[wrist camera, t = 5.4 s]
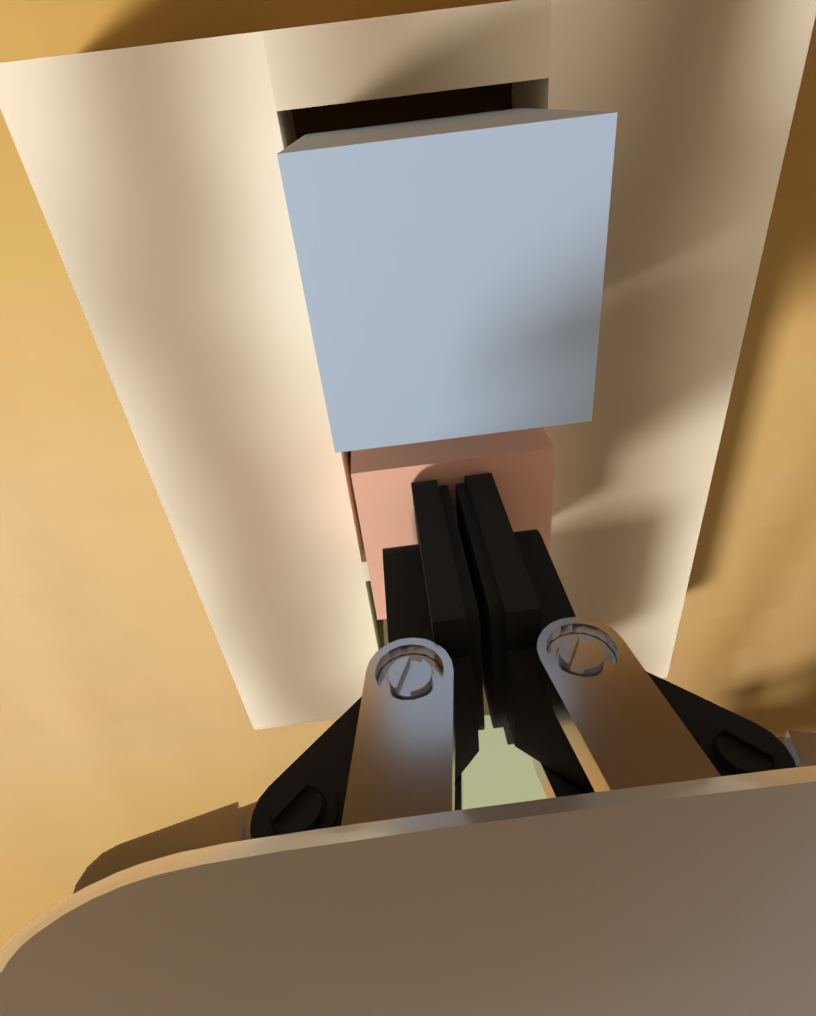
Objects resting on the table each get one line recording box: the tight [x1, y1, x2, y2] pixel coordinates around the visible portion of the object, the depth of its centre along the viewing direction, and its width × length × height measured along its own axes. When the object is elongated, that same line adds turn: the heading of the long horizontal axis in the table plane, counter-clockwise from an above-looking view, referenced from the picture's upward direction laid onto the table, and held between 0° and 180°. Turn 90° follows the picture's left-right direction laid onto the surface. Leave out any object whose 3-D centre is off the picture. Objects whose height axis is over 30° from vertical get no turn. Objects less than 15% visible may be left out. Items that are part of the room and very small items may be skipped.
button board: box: [0, 0, 816, 730], centre depth 16 cm, size 14×18×3 cm
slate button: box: [277, 108, 618, 453], centre depth 10 cm, size 4×4×5 cm
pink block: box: [351, 427, 555, 620], centre depth 15 cm, size 4×4×5 cm
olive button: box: [383, 619, 547, 809], centre depth 16 cm, size 4×4×5 cm
